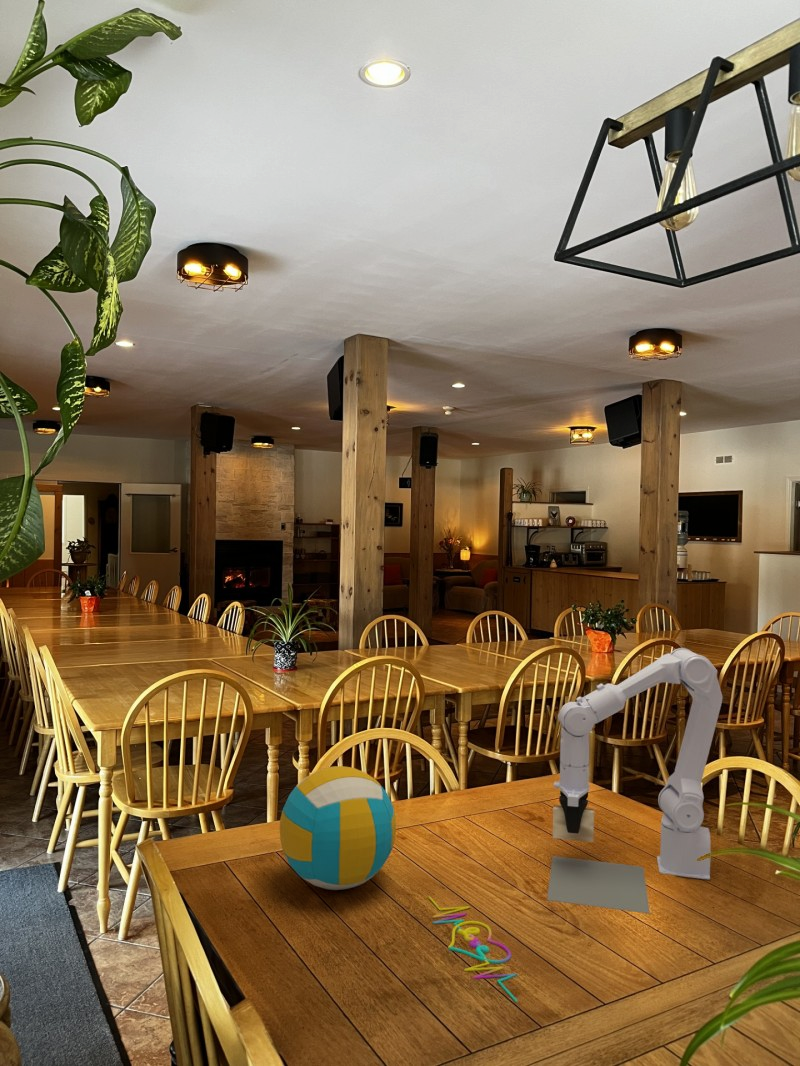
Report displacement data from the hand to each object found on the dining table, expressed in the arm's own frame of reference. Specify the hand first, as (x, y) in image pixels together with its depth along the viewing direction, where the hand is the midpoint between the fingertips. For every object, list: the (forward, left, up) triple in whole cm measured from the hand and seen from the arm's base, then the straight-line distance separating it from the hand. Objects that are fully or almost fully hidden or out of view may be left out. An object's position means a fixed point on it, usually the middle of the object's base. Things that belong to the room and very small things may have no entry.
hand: (573, 830), depth 162 cm
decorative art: (+15, +35, -8) cm, 39 cm away
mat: (-5, +7, -7) cm, 11 cm away
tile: (0, 0, -2) cm, 2 cm away
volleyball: (+43, +21, -8) cm, 48 cm away
